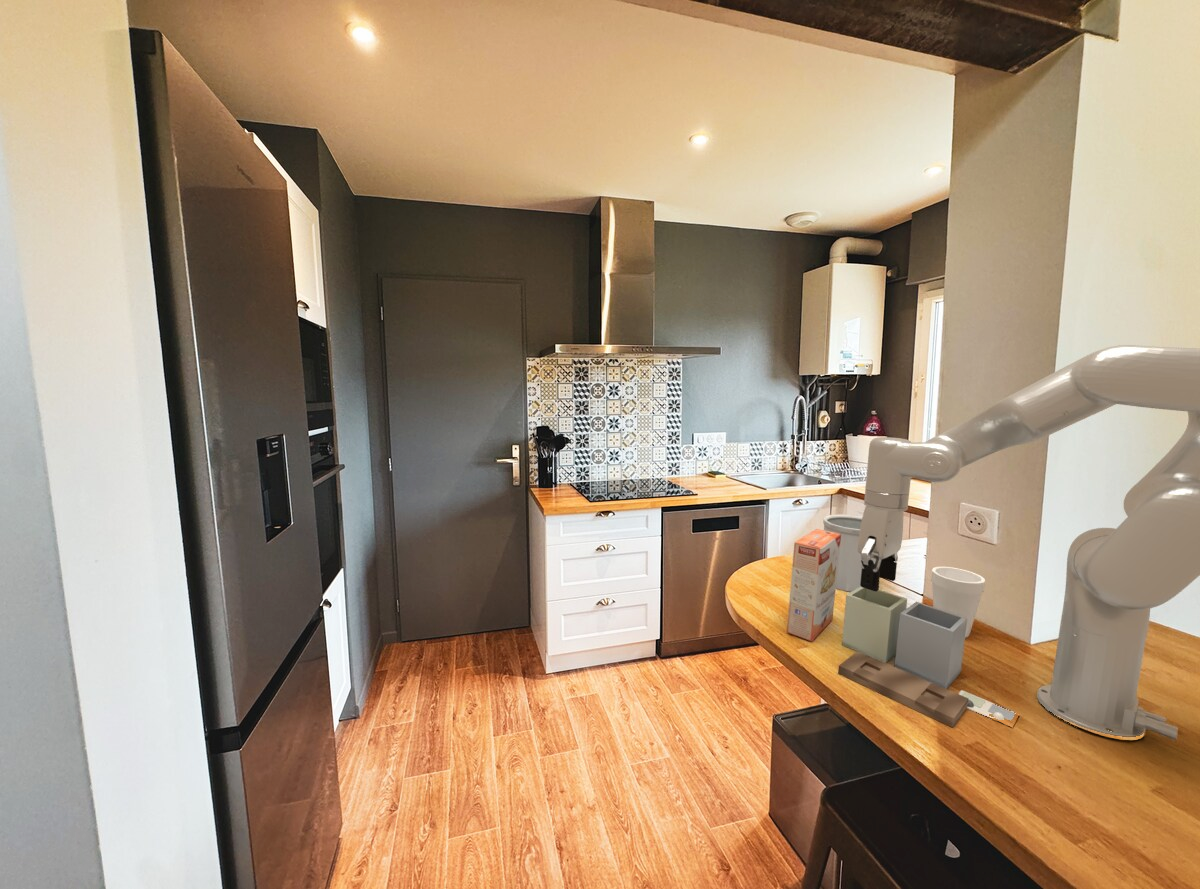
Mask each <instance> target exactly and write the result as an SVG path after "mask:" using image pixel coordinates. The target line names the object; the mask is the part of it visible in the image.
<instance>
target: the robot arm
mask: <svg viewBox="0 0 1200 889" xmlns="http://www.w3.org/2000/svg"><path fill="white" fill-rule="evenodd" d="M1115 405H1120V406H1122V405H1123V406H1129V407H1136V408H1137V407H1138V408H1146V409H1147V408H1149V409H1156V410H1157V409H1158V410H1167V411H1168V410H1169V411H1177V412H1178V411H1179V412H1186V413H1187V415H1188V419H1187V420H1188V422H1187V426H1186V428H1185V431H1184V433H1183V434H1182V435H1181V437H1180V438H1179V439H1178V440H1177V442H1176V443H1175V444H1174V445H1173V447H1171V448H1170V450H1169V451H1168V452H1167V453H1165V455H1164V456H1163V457H1162V458H1161V459H1160V460H1159V461H1158V462H1157V463H1156V464H1155V465H1154V466H1153V467H1152V468H1151V469H1150V470H1149V471H1148V472H1147V473H1146V474H1145V475H1144V476H1143V477H1142V478H1141V479H1140V480H1139V481H1137V482H1136V484H1134V485H1133V486H1131V488H1130V490H1129V491H1128V492H1127V493H1126V494H1125V496H1124V499H1123V509H1124V510H1123V511H1124V513H1125V514H1126V516H1127V517H1126V518H1125V519H1124V520H1123V521H1122V522H1121V523H1120V524H1119V525H1118V526H1117V528H1113V527H1098V528H1092V529H1089V530H1086V531H1084V532H1082V533H1081V534H1079V535H1078V536H1077V537H1076V538H1074V540H1073V541H1072V542H1071V543H1070V546H1069V548H1068V551H1067V558H1066V572H1065V574H1066V576H1065V587H1064V588H1065V590H1064V599H1063V606H1062V610H1061V611H1062V612H1061V617H1060V618H1061V619H1060V624H1059V630H1058V636H1057V638H1058V639H1057V644H1056V652H1055V659H1054V664H1053V671H1052V676H1051V677H1052V678H1051V679H1052V680H1051V684H1046V685H1042V686H1040V687H1039V688H1038V689H1037V693H1036V694H1037V695H1036V698H1037V700H1038V702H1039V703H1040V705H1041V704H1042V705H1043V706H1044V707H1045V708H1044V707H1043V706H1042V705H1041V706H1042V707H1043V708H1044V709H1046V710H1047V711H1048V712H1049V711H1050V712H1052V713H1053V714H1055V715H1057V716H1060V717H1061V718H1063V719H1065V720H1067V721H1069V722H1072V723H1075V724H1076V725H1078V726H1081V727H1084V728H1087V729H1090V730H1094V731H1097V732H1101V733H1105V734H1110V735H1114V736H1122V737H1136V736H1140V735H1142V734H1143V733H1145V734H1146V731H1147V730H1149V731H1151V732H1154V733H1157V734H1158V735H1160V736H1162V737H1166V738H1168V739H1171V740H1174V741H1177V737H1178V730H1179V728H1178V727H1177V726H1175V725H1172V724H1170V723H1166V722H1167V718H1166V717H1165V716H1162V715H1159V714H1156V713H1152V712H1149V711H1146V710H1144V708H1143V707H1141V706H1139V700H1140V698H1139V697H1137V693H1138V687H1139V681H1140V676H1141V670H1142V664H1143V658H1144V652H1145V648H1146V647H1145V646H1146V641H1147V637H1148V631H1149V624H1150V618H1151V609H1154V608H1157V607H1159V606H1161V605H1164V604H1165V603H1167V602H1169V601H1171V600H1172V599H1173V598H1175V597H1176V596H1177V595H1178V594H1180V593H1181V592H1183V590H1185V589H1186V588H1187V587H1188V586H1190V585H1191V584H1192V583H1193V582H1194V581H1195V580H1196V579H1197V578H1199V577H1200V348H1197V347H1196V348H1195V347H1174V346H1173V347H1169V346H1153V345H1152V346H1150V345H1149V346H1148V345H1147V346H1146V345H1136V344H1135V345H1132V344H1131V345H1129V344H1128V345H1127V344H1125V345H1124V344H1123V345H1122V344H1121V345H1120V344H1119V345H1113V346H1109V347H1105V348H1101V349H1099V350H1096V351H1094V352H1091V353H1089V354H1087V355H1086V356H1083V357H1081V358H1079V359H1077V360H1076V361H1073V362H1071V363H1070V364H1068V365H1066V366H1064V367H1062V368H1060V369H1058V370H1056V371H1054V372H1052V373H1051V374H1049V375H1047V376H1045V377H1043V378H1041V379H1039V380H1037V381H1036V382H1034V383H1032V384H1030V385H1028V386H1025V387H1024V388H1022V389H1020V390H1018V391H1016V392H1014V393H1012V394H1010V395H1008V396H1006V397H1005V398H1003V399H1001V400H999V401H997V402H995V403H994V404H992V405H990V407H988V408H987V409H984V410H983V411H982V412H980V413H978V414H976V415H974V416H973V417H971V418H969V419H967V420H965V421H963V422H961V423H959V424H957V425H954V426H953V427H951V428H949V429H947V430H946V431H944V432H941V433H939V434H938V435H936V436H933V437H932V438H929V439H928V440H926V441H924V442H922V441H919V442H912V441H911V440H909V439H906V438H900V437H891V436H890V437H889V436H887V437H886V436H885V437H883V436H881V437H874V438H873V439H872V440H871V441H870V443H869V445H868V446H869V447H868V456H867V466H866V468H867V469H866V478H865V479H866V480H865V488H864V489H865V490H864V500H863V504H864V506H865V507H864V510H863V513H862V514H863V515H862V522H861V528H860V535H859V542H858V552H859V553H860V554H861V559H862V560H861V562H862V565H861V568H862V571H861V582H860V586H861V587H863V588H866V589H869V590H872V591H875V592H876V591H878V589H879V588H880V586H879V585H880V578H881V579H884V580H887V581H890V582H894V581H896V575H897V567H898V559H899V557H898V552H899V551H900V550H901V547H902V542H903V534H904V512H906V511H908V509H909V501H910V500H909V499H910V498H909V497H910V489H911V480H912V478H913V479H917V480H920V481H925V482H931V483H944V482H947V481H951V480H952V479H954V478H955V477H957V475H958V474H959V472H960V471H961V469H962V468H964V467H966V466H969V465H971V464H972V463H975V462H977V461H979V460H982V459H984V458H985V457H988V456H990V455H992V454H995V453H997V452H999V451H1003V450H1005V449H1008V448H1012V447H1015V446H1021V445H1026V444H1030V443H1033V442H1036V441H1039V440H1041V439H1044V438H1047V437H1048V436H1050V435H1053V434H1054V433H1057V432H1059V431H1061V430H1064V429H1066V428H1068V427H1070V426H1071V425H1073V424H1076V423H1078V422H1080V421H1083V420H1085V419H1087V418H1089V417H1091V416H1094V415H1096V414H1098V413H1100V412H1103V411H1105V410H1107V409H1109V408H1111V407H1113V406H1115ZM872 552H873V553H877V554H879V555H878V556H877V555H873V554H871V553H872ZM871 558H872V559H876V562H875V565H874V562H873V560H871ZM879 590H880V589H879ZM1050 712H1049V713H1050ZM1052 713H1051V714H1052ZM1053 714H1052V715H1053ZM1055 715H1054V716H1055ZM1108 730H1109V731H1108ZM1145 730H1146V731H1145ZM1110 731H1112V732H1110Z"/></svg>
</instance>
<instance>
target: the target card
mask: <svg viewBox="0 0 1200 889" xmlns="http://www.w3.org/2000/svg"><path fill="white" fill-rule="evenodd" d="M958 694H959V695H962V696H964V697H966V698H969V700H968V706H967V709H966V710H969V711H972V712H974V713H976V712H977V713H976V714H978V713H979V714H978V715H980V714H982V715H981V716H983V715H984V717H985V716H987V717H990V718H996V719H998V720H1004V718H1005V719H1007V720H1010V721H1011V720H1012V719H1013V717H1014V715H1015V714H1016V713H1017V712H1016V713H1014V712H1015V711H1013V710H1011V711H1009V710H1010V709H1008V708H1006V709H1004V708H1005V707H1004V708H1002V707H1003V706H1001V705H999V706H997V705H998V704H996V703H993V702H992V701H989V700H987V699H984V698H982V697H980V696H977V695H975V694H973V693H970V692H967V691H966V690H964V689H963V690H962V689H961V690H960V691H959V692H958ZM995 704H996V705H995ZM1000 706H1001V707H1000ZM1007 709H1008V710H1007ZM989 714H993V716H994V717H991V716H989ZM987 717H986V718H987ZM990 718H989V719H990Z"/></svg>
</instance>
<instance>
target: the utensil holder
mask: <svg viewBox="0 0 1200 889" xmlns="http://www.w3.org/2000/svg"><path fill="white" fill-rule="evenodd" d="M862 517H863V515H862V516H861V515H853V514H829V515H826V516H824V518H823V521H822V522H823V526H824V527H823V530H824V531H830V532H835V533H838V534H841V541H840V551H839V561H838V570H837V581H836V589H837V590H840V591H844V592H848V593H850V592H852V591H854V590H856V589H857V588H859V587H861V586H860V582H861V571H862V568H861V565H862V562H861V560H862V559H861V554H860V553H859V552H858V542H859V535H860V528H861V522H862ZM871 554H873V555H877V556H878V555H879V554H877V553H873V552H872V553H871ZM871 560H873V562H874V565H875V562H876V559H872V558H871Z"/></svg>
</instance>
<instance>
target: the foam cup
mask: <svg viewBox="0 0 1200 889" xmlns="http://www.w3.org/2000/svg"><path fill="white" fill-rule="evenodd" d="M930 577H931V578H930V581H931V588H932V604H933V606H932V607H935V608H938V609H941V610H944V611H947V612H951V613H954V614H957V615H960V616H963V617H966V618H967V625H966V633H965V639H966V638H968V637H970V634H971V631H972V628H973V624H974V622H975V617H976V614H977V612H978V608H979V604H980V601H981V597H982V595H983V593H985V592H984V591H985V586H986V585H985V584H986V579H985V577H983V576H982V575H980V574H978V573H975V572H972V571H971V570H967V569H961V568H957V567H952V566H936V567H933V568H932V570H931V576H930Z"/></svg>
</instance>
